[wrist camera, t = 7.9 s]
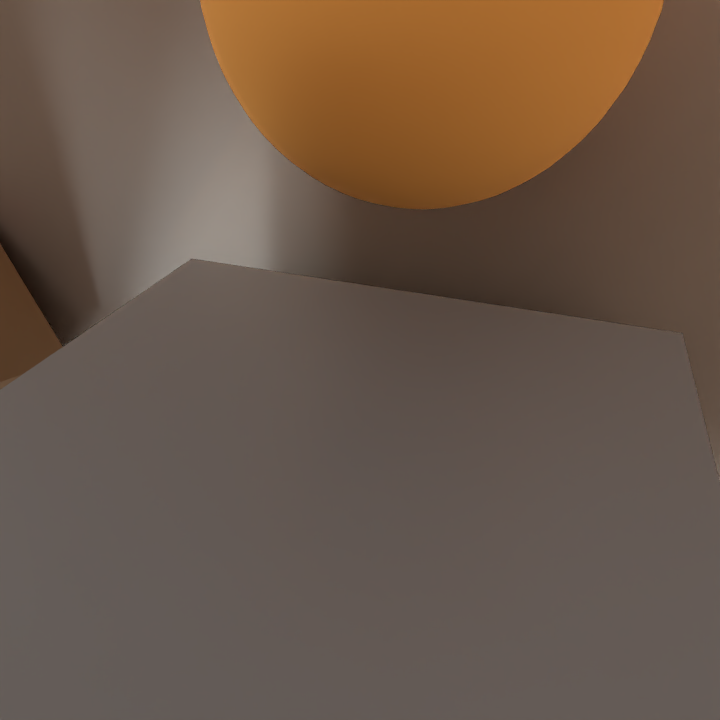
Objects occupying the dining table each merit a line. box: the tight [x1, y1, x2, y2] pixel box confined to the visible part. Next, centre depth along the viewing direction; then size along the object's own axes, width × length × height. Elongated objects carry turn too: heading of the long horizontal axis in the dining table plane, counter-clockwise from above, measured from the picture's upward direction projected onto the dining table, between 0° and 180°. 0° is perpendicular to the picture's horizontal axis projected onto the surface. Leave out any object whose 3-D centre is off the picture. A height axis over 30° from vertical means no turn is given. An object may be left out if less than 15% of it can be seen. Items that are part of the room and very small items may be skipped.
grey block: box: [0, 259, 720, 720], centre depth 8 cm, size 8×8×9 cm
